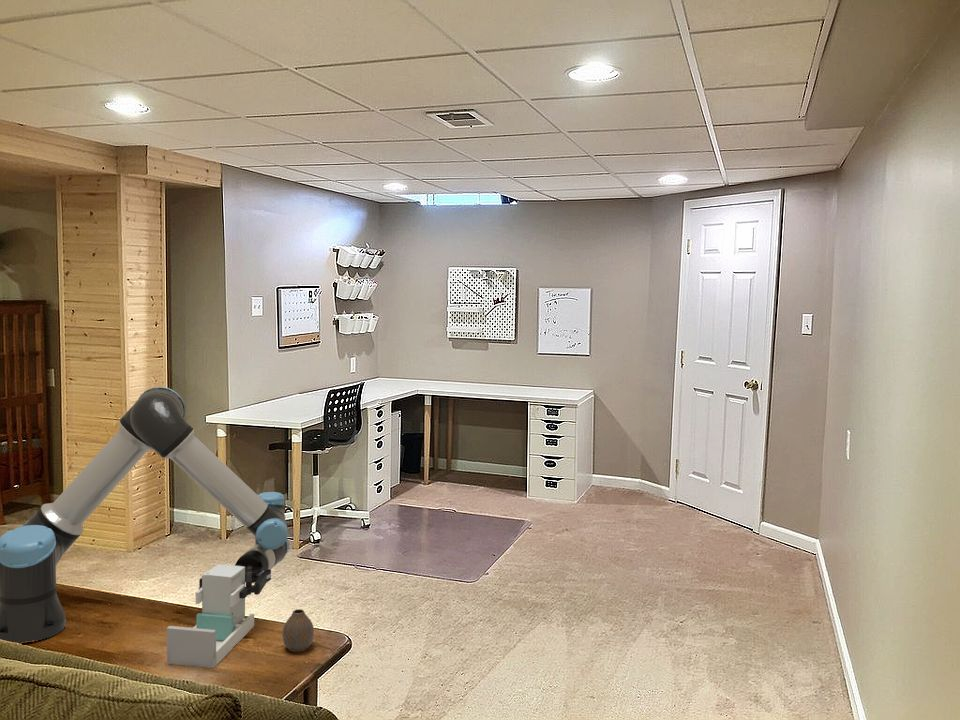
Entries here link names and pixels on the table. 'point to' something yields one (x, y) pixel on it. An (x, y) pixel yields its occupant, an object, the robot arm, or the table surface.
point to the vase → (298, 631)
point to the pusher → (215, 624)
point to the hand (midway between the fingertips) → (214, 599)
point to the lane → (203, 644)
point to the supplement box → (223, 591)
